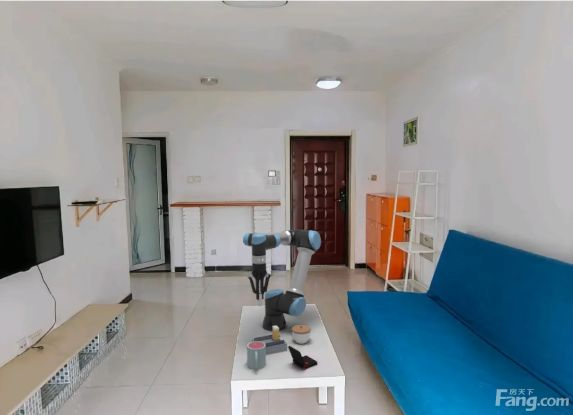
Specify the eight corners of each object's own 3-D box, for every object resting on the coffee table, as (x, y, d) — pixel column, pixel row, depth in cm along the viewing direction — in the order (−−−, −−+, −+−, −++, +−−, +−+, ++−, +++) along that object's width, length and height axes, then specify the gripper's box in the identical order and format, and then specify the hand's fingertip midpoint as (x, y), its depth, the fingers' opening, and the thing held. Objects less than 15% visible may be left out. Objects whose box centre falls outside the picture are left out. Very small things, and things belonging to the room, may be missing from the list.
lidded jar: (314, 340, 213) (314, 324, 212) (304, 347, 204) (304, 330, 203) (298, 336, 219) (298, 320, 218) (288, 342, 210) (288, 326, 209)
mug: (247, 360, 189) (247, 341, 189) (265, 359, 190) (265, 341, 189) (246, 374, 176) (246, 354, 175) (266, 373, 176) (265, 353, 176)
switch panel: (278, 341, 211) (278, 333, 211) (286, 350, 200) (286, 341, 200) (252, 346, 205) (251, 338, 205) (259, 356, 194) (258, 347, 194)
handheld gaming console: (318, 364, 185) (318, 345, 184) (299, 372, 177) (299, 352, 177) (306, 357, 192) (306, 339, 192) (287, 364, 185) (287, 345, 184)
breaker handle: (277, 337, 207) (277, 324, 206) (280, 340, 202) (280, 328, 202) (271, 338, 205) (271, 325, 205) (274, 341, 201) (274, 329, 200)
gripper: (249, 265, 192) (250, 309, 194) (272, 262, 198) (273, 305, 200) (245, 262, 199) (246, 304, 201) (267, 259, 205) (268, 301, 206)
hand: (260, 305), depth 200 cm, fingers closed
